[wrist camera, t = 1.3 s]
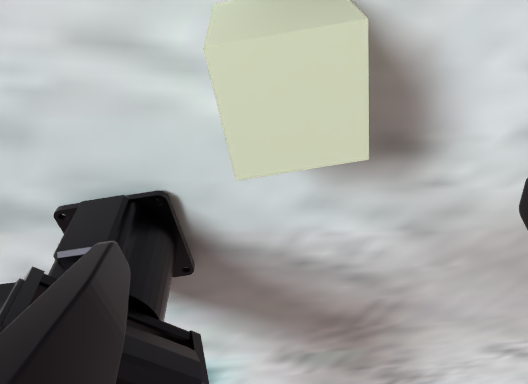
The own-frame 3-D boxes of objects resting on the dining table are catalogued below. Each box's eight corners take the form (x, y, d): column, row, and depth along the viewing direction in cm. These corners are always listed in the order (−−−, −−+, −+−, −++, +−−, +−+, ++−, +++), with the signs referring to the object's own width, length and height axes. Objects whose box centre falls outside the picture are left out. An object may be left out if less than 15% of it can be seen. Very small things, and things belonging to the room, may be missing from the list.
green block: (338, 94, 20) (369, 159, 15) (237, 111, 20) (236, 180, 15) (332, -19, 17) (368, 18, 12) (213, 3, 17) (203, 47, 12)
